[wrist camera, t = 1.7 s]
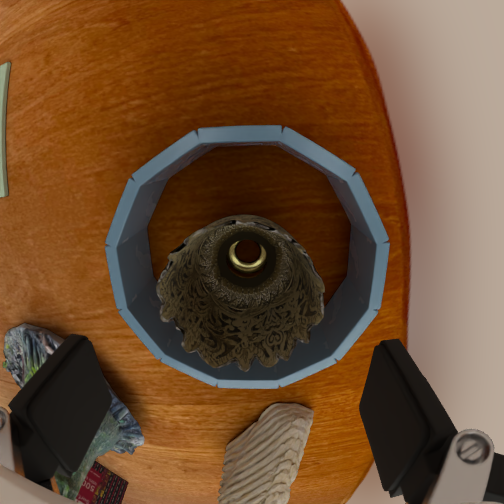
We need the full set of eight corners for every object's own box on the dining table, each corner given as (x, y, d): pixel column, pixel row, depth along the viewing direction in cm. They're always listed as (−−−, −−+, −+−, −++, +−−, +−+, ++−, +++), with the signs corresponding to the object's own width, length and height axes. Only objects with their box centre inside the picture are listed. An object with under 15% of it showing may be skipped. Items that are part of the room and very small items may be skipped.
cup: (318, 274, 21) (347, 339, 13) (226, 314, 22) (210, 389, 14) (273, 176, 19) (281, 190, 11) (175, 226, 20) (126, 269, 12)
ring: (131, 143, 18) (94, 142, 13) (364, 137, 17) (395, 132, 13) (156, 341, 23) (136, 380, 18) (347, 342, 22) (363, 382, 18)
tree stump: (-11, 296, 23) (-95, 387, 7) (143, 317, 28) (121, 468, 12) (25, 408, 28) (-8, 501, 12) (151, 429, 33) (155, 544, 16)
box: (30, 429, 31) (-17, 508, 12) (45, 421, 29) (-10, 515, 10) (103, 485, 35) (73, 564, 16) (128, 482, 33) (98, 575, 14)
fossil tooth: (323, 401, 26) (254, 474, 29) (267, 386, 25) (207, 464, 28) (356, 493, 15) (260, 549, 18) (284, 490, 14) (203, 543, 17)
